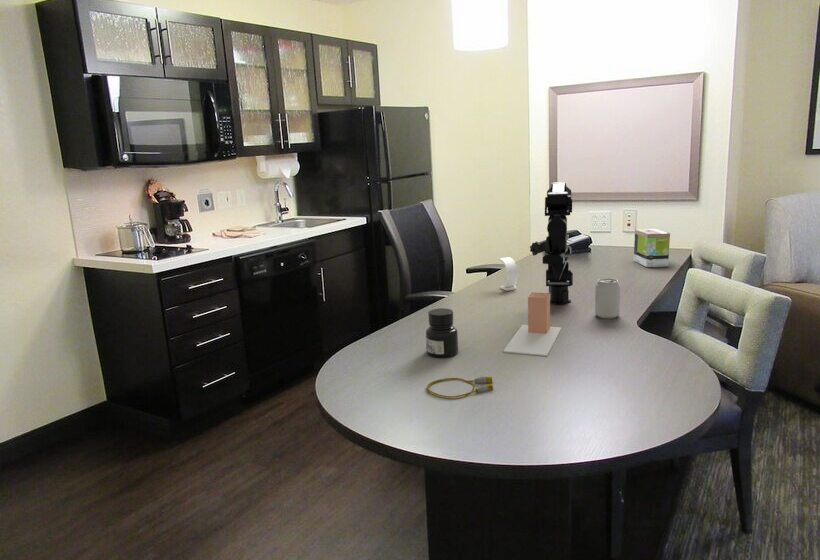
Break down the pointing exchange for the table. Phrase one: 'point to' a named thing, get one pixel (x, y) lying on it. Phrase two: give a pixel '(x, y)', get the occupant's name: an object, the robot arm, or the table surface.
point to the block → (539, 312)
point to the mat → (532, 342)
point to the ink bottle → (441, 334)
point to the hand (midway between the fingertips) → (557, 280)
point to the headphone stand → (510, 273)
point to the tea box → (651, 247)
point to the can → (607, 298)
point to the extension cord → (477, 380)
